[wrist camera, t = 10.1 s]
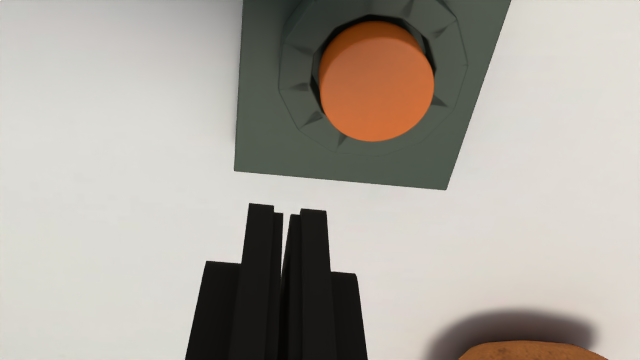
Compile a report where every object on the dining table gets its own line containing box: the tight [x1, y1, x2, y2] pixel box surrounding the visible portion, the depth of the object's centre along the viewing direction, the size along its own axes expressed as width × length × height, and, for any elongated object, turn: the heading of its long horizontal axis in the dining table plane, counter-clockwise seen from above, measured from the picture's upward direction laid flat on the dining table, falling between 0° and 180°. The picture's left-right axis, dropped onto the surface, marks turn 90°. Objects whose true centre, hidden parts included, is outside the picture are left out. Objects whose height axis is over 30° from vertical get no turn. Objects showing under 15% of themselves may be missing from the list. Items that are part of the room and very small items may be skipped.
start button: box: [318, 21, 434, 142], centre depth 19 cm, size 4×4×2 cm
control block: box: [234, 0, 511, 190], centre depth 21 cm, size 12×10×4 cm
